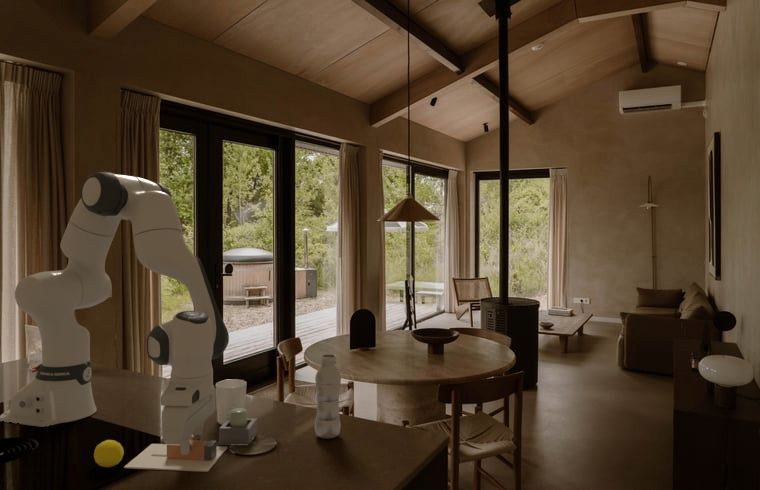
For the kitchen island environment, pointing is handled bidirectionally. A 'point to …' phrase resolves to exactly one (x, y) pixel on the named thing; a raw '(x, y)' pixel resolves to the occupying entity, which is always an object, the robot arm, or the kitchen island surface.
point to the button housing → (237, 433)
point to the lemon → (108, 453)
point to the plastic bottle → (327, 398)
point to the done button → (238, 417)
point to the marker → (194, 450)
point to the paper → (170, 460)
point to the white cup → (229, 397)
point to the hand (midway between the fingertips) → (191, 447)
